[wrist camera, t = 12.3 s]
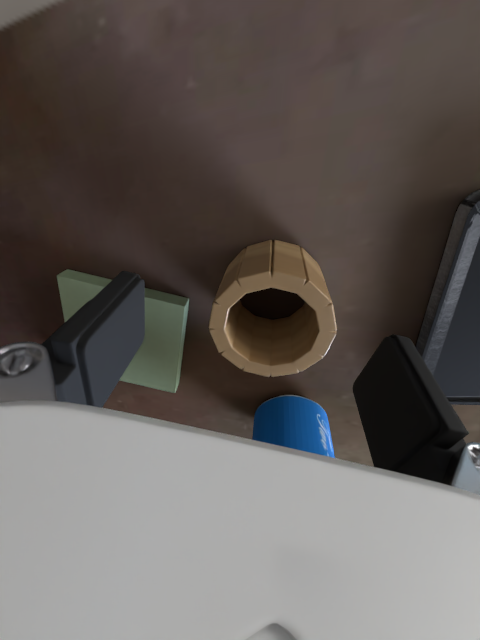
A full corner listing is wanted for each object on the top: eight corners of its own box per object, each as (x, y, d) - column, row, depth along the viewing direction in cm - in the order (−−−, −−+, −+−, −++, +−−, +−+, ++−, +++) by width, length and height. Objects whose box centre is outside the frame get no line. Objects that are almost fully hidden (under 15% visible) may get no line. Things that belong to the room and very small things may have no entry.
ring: (234, 229, 17) (220, 257, 13) (338, 255, 17) (358, 291, 13) (217, 316, 21) (202, 361, 16) (303, 337, 21) (309, 387, 16)
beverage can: (341, 417, 25) (384, 603, 15) (286, 443, 28) (291, 613, 18) (294, 377, 23) (307, 560, 13) (240, 409, 26) (217, 579, 16)
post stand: (67, 268, 20) (-22, 321, 14) (189, 298, 20) (153, 362, 14) (81, 360, 25) (20, 427, 19) (179, 383, 25) (148, 457, 19)
